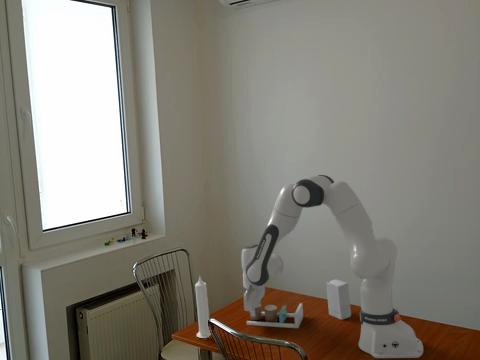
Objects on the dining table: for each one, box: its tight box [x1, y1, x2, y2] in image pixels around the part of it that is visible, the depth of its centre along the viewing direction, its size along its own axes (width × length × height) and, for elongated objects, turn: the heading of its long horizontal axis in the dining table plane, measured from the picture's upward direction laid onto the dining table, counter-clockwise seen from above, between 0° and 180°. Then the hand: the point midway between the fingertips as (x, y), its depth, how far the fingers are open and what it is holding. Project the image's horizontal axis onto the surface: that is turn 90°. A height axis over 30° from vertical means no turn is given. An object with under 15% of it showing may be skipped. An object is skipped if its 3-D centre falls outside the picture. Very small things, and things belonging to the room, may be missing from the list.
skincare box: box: [325, 278, 352, 321], centre depth 203 cm, size 8×6×15 cm
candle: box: [194, 276, 211, 339], centre depth 193 cm, size 7×7×25 cm
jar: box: [249, 303, 263, 321], centre depth 206 cm, size 5×5×6 cm
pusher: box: [278, 304, 289, 323], centre depth 202 cm, size 3×8×5 cm, turn 162°
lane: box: [246, 302, 304, 329], centre depth 204 cm, size 22×11×6 cm, turn 72°
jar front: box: [264, 304, 278, 323], centre depth 204 cm, size 5×5×6 cm
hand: (255, 312), depth 206 cm, fingers closed on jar, 5 cm apart
